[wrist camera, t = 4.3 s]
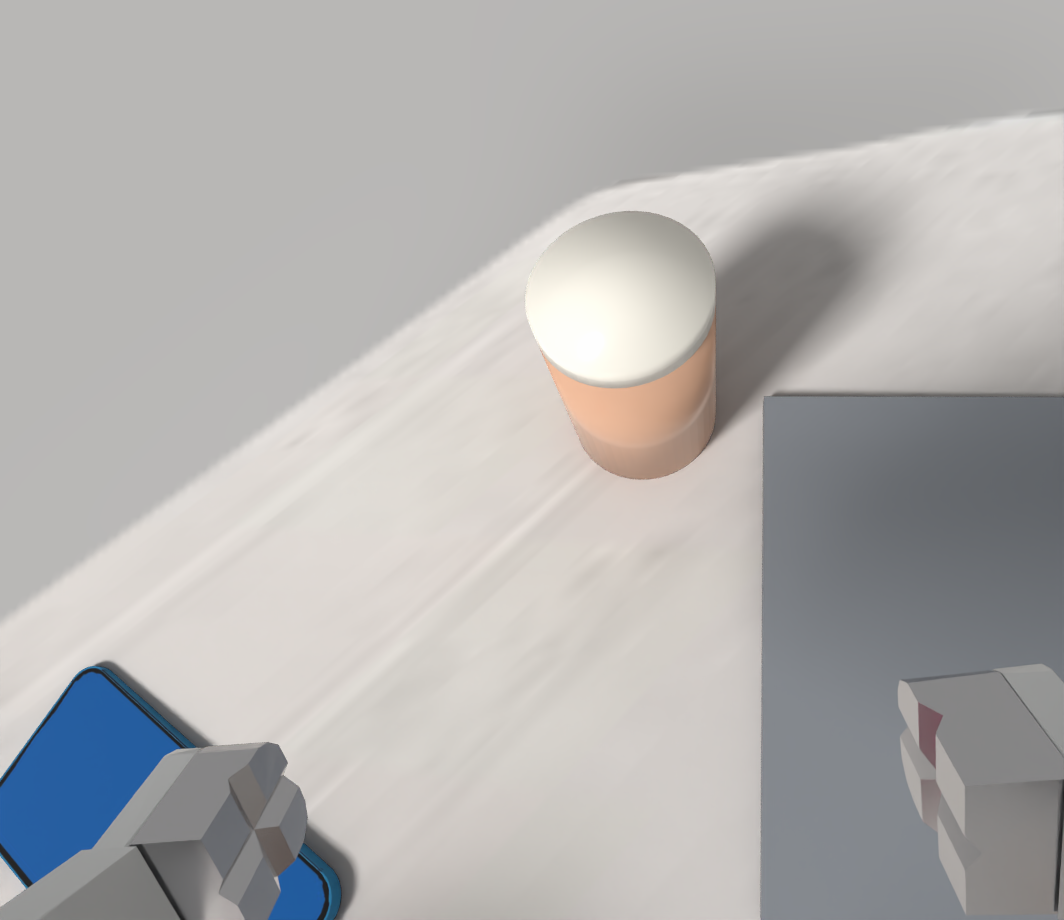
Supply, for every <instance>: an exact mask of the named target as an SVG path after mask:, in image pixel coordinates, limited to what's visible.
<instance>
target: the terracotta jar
mask: <svg viewBox="0 0 1064 920" xmlns="http://www.w3.org/2000/svg"><path fill="white" fill-rule="evenodd" d="M525 308H526V314H527V318H528V322H529V324H530V327H531V329H532V332H533V334H534V336H535V338H536V341H537V343H538V345H539V348H540V350H541V352H542V355H543V357H544V359H545V361H546V364H547V366H548V368H549V371H550V373H551V375H552V378H553V380H554V382H555V384H556V387H557V389H558V391H559V394H560V396H561V398H562V401H563V403H564V405H565V407H566V410H567V412H568V414H569V417H570V419H571V421H572V424H573V426H574V428H575V430H576V433H577V435H578V437H579V440H580V442H581V444H582V446H583V448H584V450H585V451H586V453H587V454H588V455H589V456H590V458H591V459H592V460H593V461H594V462H595V463H597V464H598V465H599V466H600V467H602V468H603V469H605V470H607V471H609V472H611V473H613V474H615V475H618V476H621V477H625V478H630V479H639V480H640V479H654V478H660V477H663V476H667V475H670V474H672V473H674V472H677V471H679V470H680V469H682V468H684V467H685V466H687V465H688V464H689V463H691V462H692V461H693V460H694V459H695V458H696V457H697V456H698V455H699V454H700V453H701V452H702V451H703V449H704V448H705V446H706V445H707V443H708V441H709V439H710V437H711V435H712V432H713V429H714V425H715V417H716V281H715V270H714V265H713V262H712V259H711V257H710V254H709V252H708V250H707V249H706V247H705V245H704V244H703V243H702V241H701V240H700V239H699V238H698V237H697V236H696V235H695V234H694V233H693V232H692V231H691V230H690V229H688V228H687V227H685V226H684V225H682V224H681V223H679V222H677V221H675V220H673V219H671V218H668V217H665V216H662V215H659V214H654V213H649V212H640V211H623V212H615V213H609V214H605V215H600V216H597V217H594V218H591V219H589V220H586V221H584V222H582V223H580V224H578V225H576V226H574V227H573V228H571V229H569V230H568V231H566V232H565V233H563V234H562V235H561V236H559V237H558V238H557V239H556V240H555V241H554V242H553V243H551V244H550V245H549V247H548V248H547V249H546V250H545V251H544V252H543V253H542V255H541V256H540V258H539V259H538V261H537V262H536V264H535V266H534V268H533V270H532V272H531V274H530V277H529V280H528V283H527V288H526V295H525Z"/></svg>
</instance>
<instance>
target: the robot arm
mask: <svg viewBox="0 0 1064 920" xmlns="http://www.w3.org/2000/svg"><path fill="white" fill-rule="evenodd" d="M898 707H899V709H900V711H901V713H902V715H903V717H904V719H905V721H906V723H907V725H908V727H907V728H906V729H905V731H904V732H903V733H902V734H901V735H900V744H901V755H902V762H903V766H904V771H905V775H906V780H907V784H908V787H909V789H910V792H911V795H912V798H913V801H914V803H915V805H916V808H917V810H918V812H919V814H920V817H921V819H922V821H923V822H924V823H925V824H927V825H928V826H930V827H931V828H932V829H934V830H935V831H936V832H938V846H939V858H940V860H941V863H942V865H943V867H944V869H945V871H946V873H947V875H948V878H949V880H950V882H951V884H952V886H953V888H954V890H955V892H956V895H957V897H958V899H959V901H960V903H961V905H962V907H963V910H964V912H965V914H966V915H1044V914H1058V918H1057V919H1058V920H1064V683H1063V681H1062V680H1061V679H1060V678H1059V677H1058V676H1057V674H1056V673H1055V672H1054V671H1053V670H1052V669H1051V668H1049V667H1047V666H1045V665H1043V664H1033V665H1024V666H1016V667H1007V668H999V669H993V670H992V671H989V670H987V671H978V672H969V673H959V674H950V675H940V676H931V677H921V678H912V679H902V680H900V681H899V686H898ZM287 764H288V762H287V760H286V758H285V756H284V754H283V752H282V751H281V749H280V747H279V745H277V744H273V743H269V742H262V743H248V744H234V745H220V746H207V747H205V748H189V749H176V750H175V751H173V752H171V753H169V754H167V755H165V756H164V757H163V758H162V760H161V761H160V762H159V763H158V765H157V766H156V767H155V769H154V770H153V771H152V772H151V774H150V775H149V776H148V778H147V779H146V780H145V781H144V783H143V784H142V785H141V787H140V788H139V789H138V790H137V792H136V793H135V794H134V796H133V797H132V798H131V799H130V801H129V802H128V803H127V805H126V806H125V807H124V808H123V810H122V811H121V812H120V813H119V815H118V816H117V817H116V819H115V820H114V821H113V822H112V824H111V825H110V826H109V828H108V829H107V830H106V831H105V833H104V834H103V835H102V837H101V838H100V839H99V840H98V842H97V843H96V844H95V846H94V847H93V848H92V849H89V850H81V851H80V852H78V853H77V854H75V855H74V856H73V857H71V858H70V859H68V860H67V861H65V862H64V863H63V864H61V865H60V866H58V867H57V868H56V869H54V870H53V871H51V872H50V873H48V874H47V875H46V876H44V877H43V878H41V879H40V880H39V881H37V882H36V883H34V884H33V885H31V886H30V887H29V888H27V889H26V890H24V891H23V892H21V893H20V894H19V895H17V896H16V897H14V898H13V899H12V900H10V901H9V902H7V903H6V904H4V905H3V906H2V907H0V920H268V918H269V916H270V914H271V911H272V909H273V907H274V905H275V903H276V901H277V899H278V897H279V894H280V892H281V891H280V886H279V881H278V876H279V875H280V874H281V873H282V872H283V871H284V870H285V869H287V868H288V867H289V866H290V865H291V864H292V863H293V862H294V861H295V860H296V858H297V856H298V853H299V851H300V849H301V847H302V844H303V842H304V839H305V832H306V825H307V818H308V817H307V810H306V804H305V799H304V797H303V795H302V792H301V790H300V788H299V786H297V785H296V784H295V783H293V782H292V781H291V780H289V779H288V778H286V777H285V776H284V772H285V770H286V767H287Z"/></svg>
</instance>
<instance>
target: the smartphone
mask: <svg viewBox="0 0 1064 920" xmlns="http://www.w3.org/2000/svg"><path fill="white" fill-rule="evenodd" d="M189 748H197V747H196V746H194V745H193V744H192V743H191V742H190V741H189V740H188V739H187V738H185V737H184V736H183V735H182V734H181V733H180V732H179V731H178V730H176V729H175V728H174V727H173V726H172V725H171V724H170V723H169V722H167V721H166V720H165V719H164V718H163V717H162V716H161V715H160V714H159V713H158V712H157V711H155V710H154V709H153V708H152V707H151V706H150V705H149V704H148V703H147V702H145V701H144V700H143V699H142V698H141V697H140V696H139V695H138V694H136V693H135V692H134V691H133V690H132V689H131V688H130V687H129V686H127V685H126V684H125V683H124V682H123V681H122V680H121V679H120V678H118V677H117V676H116V675H115V674H114V673H113V672H112V671H111V670H109V669H107V668H105V667H98V666H90V667H87V668H85V669H83V670H81V671H80V672H79V673H78V674H77V675H76V676H75V677H74V678H73V680H72V681H71V682H70V684H69V685H68V686H67V688H66V689H65V691H64V692H63V693H62V695H61V696H60V697H59V699H58V700H57V702H56V703H55V704H54V706H53V707H52V708H51V710H50V711H49V713H48V714H47V715H46V717H45V718H44V719H43V721H42V722H41V724H40V725H39V726H38V728H37V729H36V731H35V732H34V733H33V735H32V736H31V737H30V739H29V740H28V742H27V743H26V744H25V746H24V747H23V748H22V750H21V751H20V753H19V754H18V755H17V757H16V758H15V759H14V761H13V762H12V764H11V765H10V766H9V768H8V769H7V770H6V772H5V773H4V775H3V776H2V777H1V779H0V856H1V858H2V859H3V860H4V861H5V863H6V864H7V865H8V866H9V868H10V869H11V870H12V871H13V873H14V874H15V875H16V876H17V877H18V879H19V880H20V881H21V882H22V884H23V885H24V886H25V887H26V889H27V888H29V887H30V886H31V885H33V884H34V883H36V882H37V881H39V880H40V879H41V878H43V877H44V876H46V875H47V874H48V873H50V872H51V871H53V870H54V869H56V868H57V867H58V866H60V865H61V864H63V863H64V862H65V861H67V860H68V859H70V858H71V857H73V856H74V855H75V854H77V853H78V852H80V851H81V850H89V849H92V848H93V847H94V846H95V844H96V843H97V842H98V840H99V839H100V838H101V837H102V835H103V834H104V833H105V831H106V830H107V829H108V828H109V826H110V825H111V824H112V822H113V821H114V820H115V819H116V817H117V816H118V815H119V813H120V812H121V811H122V810H123V808H124V807H125V806H126V805H127V803H128V802H129V801H130V799H131V798H132V797H133V796H134V794H135V793H136V792H137V790H138V789H139V788H140V787H141V785H142V784H143V783H144V781H145V780H146V779H147V778H148V776H149V775H150V774H151V772H152V771H153V770H154V769H155V767H156V766H157V765H158V763H159V762H160V761H161V760H162V758H163V757H164V756H165V755H167V754H169V753H171V752H173V751H175V750H176V749H189ZM278 881H279V886H280V891H281V892H280V894H279V897H278V899H277V901H276V903H275V905H274V907H273V909H272V911H271V914H270V916H269V918H268V920H334V918H335V916H336V915H337V912H338V909H339V906H340V902H341V887H340V883H339V880H338V877H337V875H336V874H335V872H334V870H333V869H332V868H331V867H330V866H328V865H327V864H326V863H325V862H324V861H323V860H322V859H321V858H320V857H319V856H317V855H316V854H315V853H314V852H313V851H312V850H311V849H310V848H309V847H308V846H306V845H305V844H304V843H303V844H302V847H301V849H300V851H299V853H298V856H297V858H296V860H295V861H294V862H293V863H292V864H291V865H290V866H289V867H288V868H287V869H285V870H284V871H283V872H282V873H281V874H280V875H279V876H278Z"/></svg>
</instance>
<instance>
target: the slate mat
mask: <svg viewBox="0 0 1064 920" xmlns="http://www.w3.org/2000/svg"><path fill="white" fill-rule="evenodd" d="M1033 664H1043V665H1045V666H1047V667H1049V668H1051V669H1052V670H1053V671H1054V672H1055V673H1056V674H1057V676H1058V677H1059V678H1060V679H1061V680H1062V681H1063V683H1064V397H815V396H764V402H763V549H762V732H761V914H760V918H761V920H1058V919H1057V918H1058V914H1044V915H966V914H965V912H964V910H963V907H962V905H961V903H960V901H959V899H958V897H957V895H956V892H955V890H954V888H953V886H952V884H951V882H950V880H949V878H948V875H947V873H946V871H945V869H944V867H943V865H942V863H941V860H940V858H939V846H938V832H936V831H935V830H934V829H932V828H931V827H930V826H928V825H927V824H925V823H924V822H923V821H922V819H921V817H920V814H919V812H918V810H917V808H916V805H915V803H914V801H913V798H912V795H911V792H910V789H909V787H908V784H907V780H906V775H905V771H904V766H903V762H902V755H901V744H900V735H901V734H902V733H903V732H904V731H905V729H906V728H907V727H908V725H907V723H906V721H905V719H904V717H903V715H902V713H901V711H900V709H899V707H898V686H899V681H900V680H902V679H912V678H921V677H931V676H940V675H950V674H959V673H969V672H978V671H987V670H989V671H992V670H993V669H999V668H1007V667H1016V666H1024V665H1033Z"/></svg>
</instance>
